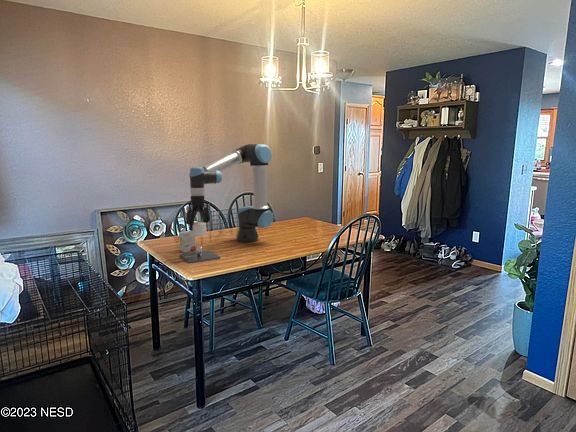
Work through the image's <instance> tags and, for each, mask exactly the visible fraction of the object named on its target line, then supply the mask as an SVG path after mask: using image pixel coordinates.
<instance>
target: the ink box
mask: <svg viewBox="0 0 576 432" xmlns="http://www.w3.org/2000/svg"><path fill="white" fill-rule="evenodd" d="M178 237H179V251H180V252H182V253H189V252H191V251H192V252H193V251H195V250H196V251H197V246H196V237H194V236H190V230H187V231H186V230H185V231H181V232H179V233H178Z"/></svg>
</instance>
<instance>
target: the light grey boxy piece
mask: <svg viewBox="0 0 576 432" xmlns="http://www.w3.org/2000/svg"><path fill="white" fill-rule="evenodd" d="M193 225H194V237H195V238H198V237H199V238H200V237H205V236H207V234H206V223H205V222H203V221H194V222H193Z"/></svg>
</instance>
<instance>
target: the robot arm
mask: <svg viewBox="0 0 576 432" xmlns="http://www.w3.org/2000/svg"><path fill="white" fill-rule="evenodd" d="M272 157H273V153H272V150H271V148H270V147H269V146H268V145H267V144H262V143H255V144H254V143H253V144H252V143H249V144H248V143H247V144H244V145H242V146H240V147H238V148H236V149H234V150H232V151H231V153H229V154H227V155H224V156H223V157H220V158H219V159H216V160H215V161H212V162H210V163H208V164H207V165H204V166H202V167H200V166H199V167H194V166H193V167H190V169H189V175H188V176H189V181H190V183H189V186H190V187H189V189H190V202H191V205H186V219H185V224H187V225H188V231H190V236H194V225H193V222H195V219H196V217H197V216H196V215H197V213H199V214H200V216H201V220H202V222H205V223H206V235H207V233H208V231H207V230H208V229H207V228H208V223H209V222H210V221H211V217H210V216H211V215H210V212H209V210H210V209H209V204H207V203H205V185H210V184H213V185H214V184H220V183H221V182H222V180H223V174H222V172H223V171H226V170H228V169H229V168H232V167H233V166H235V165H241V164H244V163H249V165H250V167H251V168H252V183H253V184H252V185H253V205H249V206H241V207H239V208H238V212H237V215H238V218H237V219H238V231H237V234H236V237H235V238H236V241H237V242H239V243H241V242H242V243H253V242H257V241H259V234H258V231H257V228H259V229H268V228H270V227H271V225H272V224H273V221H274V219H275V218H274V213H273V212H272V211H271V210H270V209H271V208H270V206H269V205H268V189H267V187H268V184H267V168H268V166H269V163H270V162H271V160H272Z"/></svg>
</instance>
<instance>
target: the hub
mask: <svg viewBox="0 0 576 432" xmlns="http://www.w3.org/2000/svg"><path fill="white" fill-rule="evenodd" d="M179 257H180V258H181V259H183V261H185V262H187V263H188V264H196V263H202V262H207V261H214V260H221V256H220V255H219V254H217V253H215V252H213V251H212V250H210V249H204V250H203V246H201V245H199V246H196V251H192V252H191V251H189V252H182V253H179Z"/></svg>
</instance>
